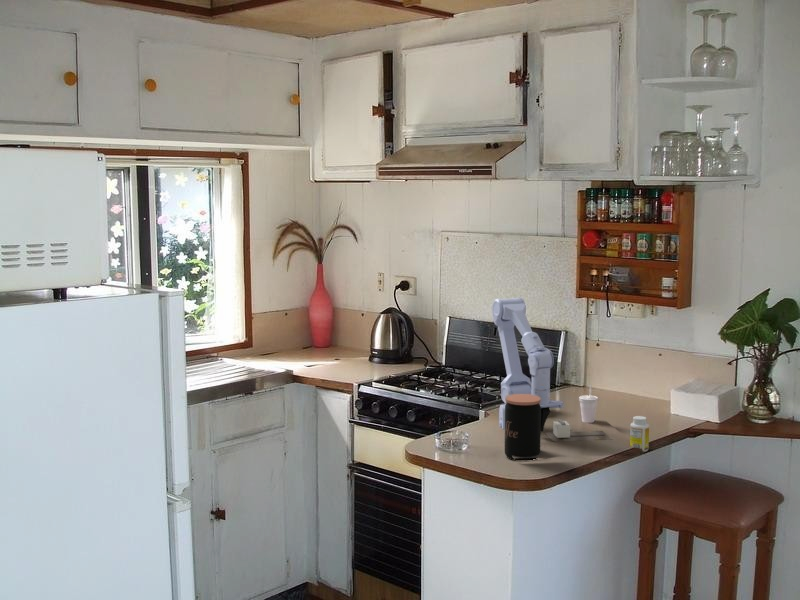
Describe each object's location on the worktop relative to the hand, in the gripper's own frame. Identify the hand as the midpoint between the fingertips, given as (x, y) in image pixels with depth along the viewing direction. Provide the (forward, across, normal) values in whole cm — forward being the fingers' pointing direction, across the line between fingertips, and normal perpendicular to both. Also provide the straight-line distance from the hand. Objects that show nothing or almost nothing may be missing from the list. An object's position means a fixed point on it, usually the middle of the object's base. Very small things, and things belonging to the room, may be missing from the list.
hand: (540, 430), depth 289 cm
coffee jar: (+4, -9, -14) cm, 17 cm away
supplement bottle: (+4, +28, -12) cm, 31 cm away
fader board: (+4, +12, 0) cm, 13 cm away
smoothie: (+4, +21, +17) cm, 27 cm away
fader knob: (+2, +7, 0) cm, 7 cm away
